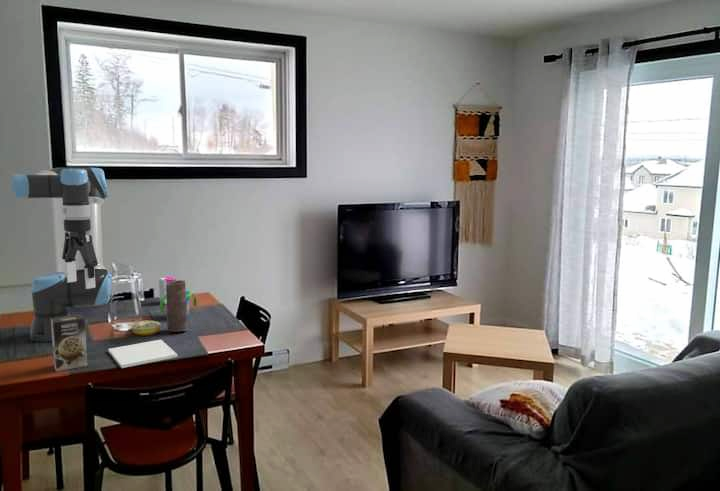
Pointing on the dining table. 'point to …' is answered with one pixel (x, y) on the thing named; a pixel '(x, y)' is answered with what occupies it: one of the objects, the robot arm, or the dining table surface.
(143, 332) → the decorated donut
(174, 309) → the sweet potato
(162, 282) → the supplement box
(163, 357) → the pad
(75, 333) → the coffee box
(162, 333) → the dining table surface
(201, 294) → the dining table surface
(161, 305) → the snack cup
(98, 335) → the dining table surface
